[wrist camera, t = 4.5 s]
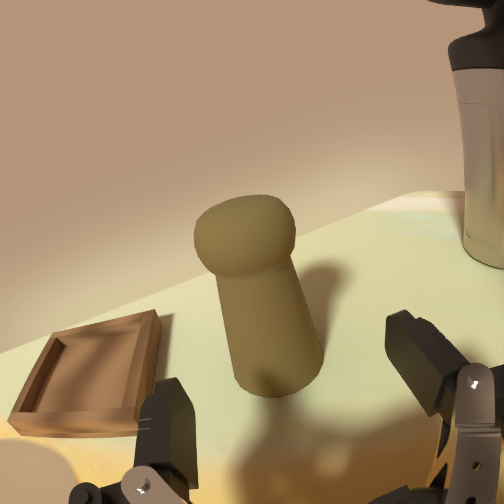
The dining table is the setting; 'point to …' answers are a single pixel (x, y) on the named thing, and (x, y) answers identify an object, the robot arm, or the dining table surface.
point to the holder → (90, 380)
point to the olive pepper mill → (260, 294)
